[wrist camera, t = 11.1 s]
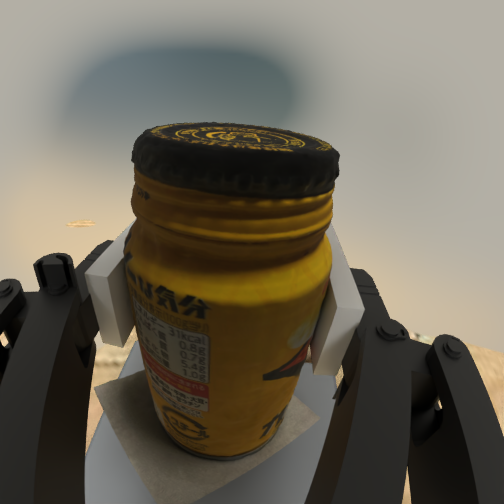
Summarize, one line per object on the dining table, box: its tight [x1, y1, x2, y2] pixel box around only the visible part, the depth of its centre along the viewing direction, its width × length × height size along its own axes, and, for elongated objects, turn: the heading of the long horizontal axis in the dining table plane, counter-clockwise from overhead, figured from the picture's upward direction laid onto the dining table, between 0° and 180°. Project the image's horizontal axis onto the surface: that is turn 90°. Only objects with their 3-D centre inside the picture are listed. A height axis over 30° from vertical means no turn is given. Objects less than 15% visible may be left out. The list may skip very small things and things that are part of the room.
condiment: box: [94, 122, 340, 504], centre depth 10 cm, size 7×8×12 cm
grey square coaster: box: [85, 340, 337, 504], centre depth 14 cm, size 14×13×3 cm
